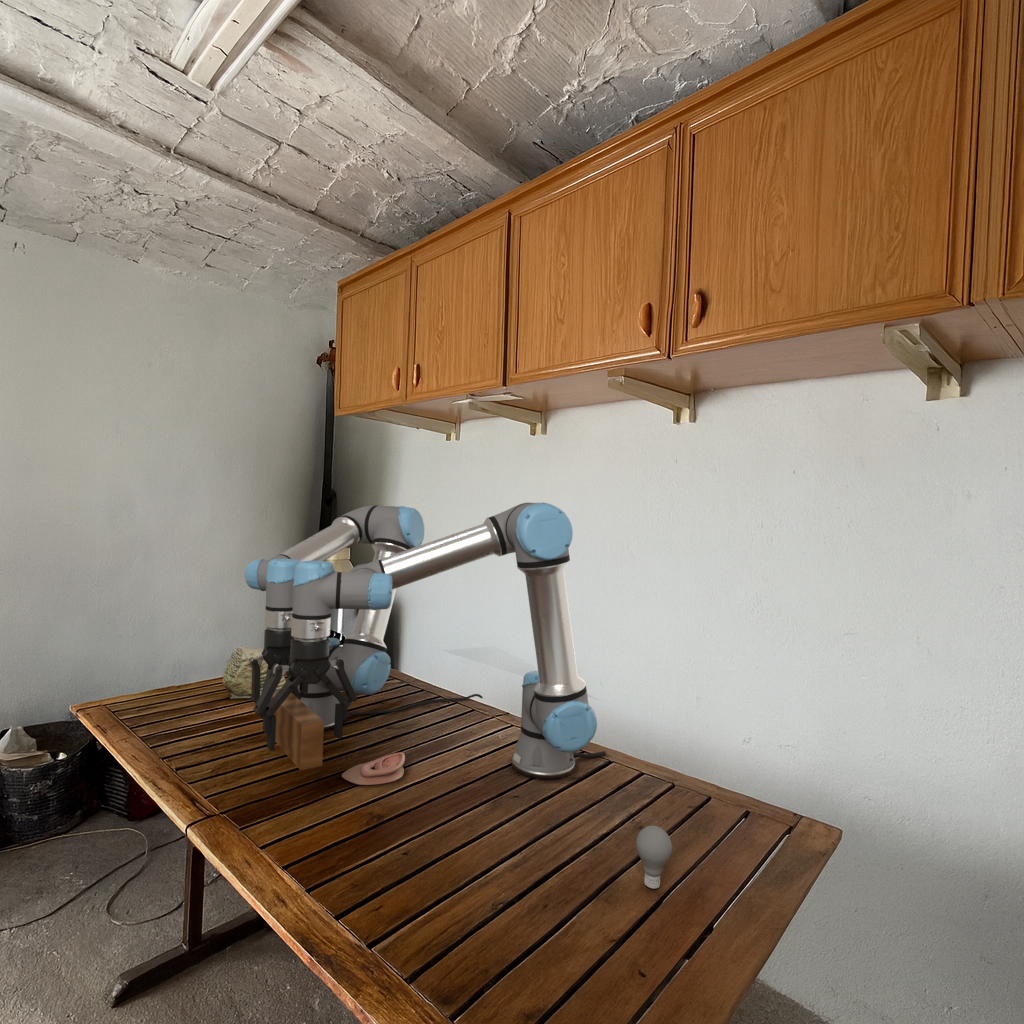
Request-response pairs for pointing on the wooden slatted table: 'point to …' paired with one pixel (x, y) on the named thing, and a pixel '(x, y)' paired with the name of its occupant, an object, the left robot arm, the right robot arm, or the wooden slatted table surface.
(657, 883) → the light bulb
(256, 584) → the left robot arm
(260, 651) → the fossil
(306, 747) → the bar
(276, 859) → the wooden slatted table surface
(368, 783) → the anatomical model
